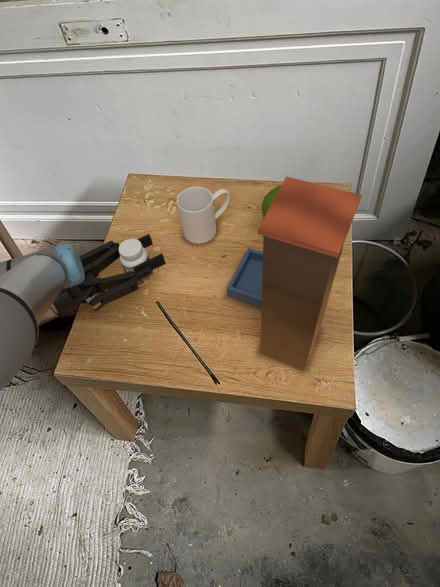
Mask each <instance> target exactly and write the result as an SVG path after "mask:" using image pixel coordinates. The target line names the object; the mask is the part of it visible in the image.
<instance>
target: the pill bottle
mask: <svg viewBox="0 0 440 587" xmlns="http://www.w3.org/2000/svg"><path fill="white" fill-rule="evenodd" d="M137 239H138V238H127V239H125V240H123V241H122V242H120V244H119V245H120V246H119V253H120V258H119V262H120V264H121V267H122V268H123V271H124V273H127V272H131V271H134V269H133V267H134V266H137V265H139V264H141V263H143V262H145V261H147V260H149V259H150V257H149V253H148V250H147V249H146V248H143V247H142V244H141V242H140V241H139V240H137ZM154 273H155V272H154V270H152V273H151V274H150V275H148V276H146V277H143V278H141V279H140V280H139V284H138V287H143V286H146V285H148V284H149V283H151V282H152V280H153V278H154V275H155V274H154Z"/></svg>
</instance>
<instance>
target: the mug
mask: <svg viewBox="0 0 440 587" xmlns="http://www.w3.org/2000/svg"><path fill="white" fill-rule="evenodd" d="M223 194H225V198H224V199H225V200H224V202H223V203H222V205H221V206H220V207H219V209H218V210H217V211H216V212H215V205H214V201H215V200H216V199H217V198H218V197H220V196H221V195H223ZM230 200H231V194H230V192H229V190H227V189H226V188H220V189H218V190H216V191H215V192H213V193H212V192H211V191H210V190H209V189H208V188H206V187H202V186H190V187H187V188H185V189H183V190H181V191H180V193H179V194H178V195H177V198H176V205H177V211H178V214H179V215H178V216H179V220H180V224H181V229H182V233H183V234H182V235H183V237H184V238H185V240H187V241H188V242H190V243H192V244H198V245H200V244H201V245H202V244H205V243H208V242H210V241H211V240H213V238H214V237H215V236H216V233H217V223H216V220H217V219H218V218H219V217H220V216H221V215H222V214H223V213H224V212H225V210H226V209H227V208H228V206H229V204H230Z"/></svg>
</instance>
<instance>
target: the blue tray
mask: <svg viewBox="0 0 440 587" xmlns="http://www.w3.org/2000/svg"><path fill="white" fill-rule="evenodd" d="M262 270H263V251H260V250H257V249H253V248H250V247H248V248H247V249H246V251H245V253H244V255H243V257H242V259H241V260H240V262H239V264H238V266H237V268H236V270H235V273H234V274H233V276H232V278H231V279H230V281H229V283H228V285H227V287H226V292H227V294H226V295H227V297H229V298H232V299H234V300H238V301H241V302H244V303H246V304H249V305H252V306H255V307H257V308H261V306H262Z"/></svg>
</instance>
